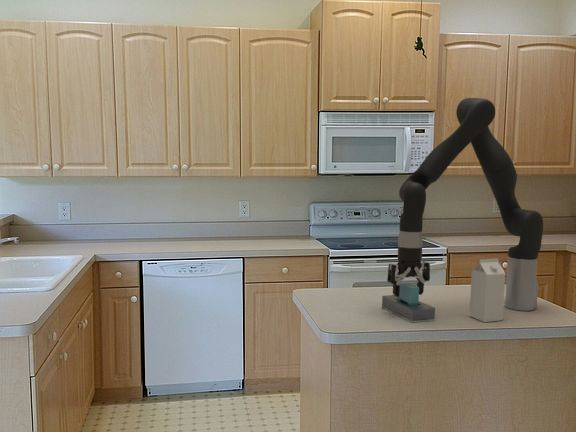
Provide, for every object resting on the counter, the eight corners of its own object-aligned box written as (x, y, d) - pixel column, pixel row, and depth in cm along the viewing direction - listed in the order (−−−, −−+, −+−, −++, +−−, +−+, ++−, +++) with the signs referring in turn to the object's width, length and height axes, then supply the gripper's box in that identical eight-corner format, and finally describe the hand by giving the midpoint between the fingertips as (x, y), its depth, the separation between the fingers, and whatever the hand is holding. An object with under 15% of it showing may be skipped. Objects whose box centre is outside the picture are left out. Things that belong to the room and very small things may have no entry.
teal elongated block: (396, 309, 186) (397, 282, 185) (404, 308, 187) (405, 281, 186) (409, 316, 179) (410, 288, 178) (417, 315, 180) (419, 287, 179)
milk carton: (469, 316, 182) (472, 257, 179) (487, 314, 184) (490, 256, 182) (484, 322, 175) (487, 261, 173) (502, 320, 177) (506, 260, 175)
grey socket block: (382, 307, 190) (382, 295, 190) (402, 305, 193) (403, 294, 192) (412, 322, 173) (412, 310, 173) (434, 320, 176) (435, 307, 176)
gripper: (422, 242, 187) (420, 291, 188) (384, 244, 182) (382, 294, 183) (436, 246, 180) (433, 296, 181) (397, 247, 175) (395, 299, 176)
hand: (408, 295), depth 182 cm, fingers open, 8 cm apart
